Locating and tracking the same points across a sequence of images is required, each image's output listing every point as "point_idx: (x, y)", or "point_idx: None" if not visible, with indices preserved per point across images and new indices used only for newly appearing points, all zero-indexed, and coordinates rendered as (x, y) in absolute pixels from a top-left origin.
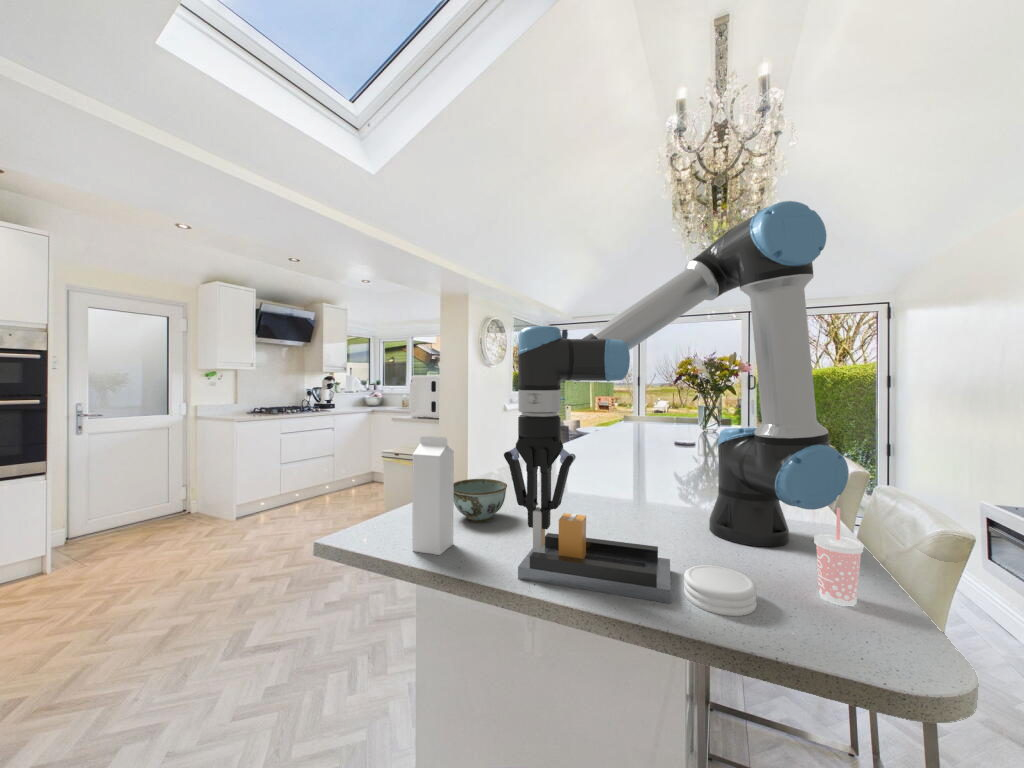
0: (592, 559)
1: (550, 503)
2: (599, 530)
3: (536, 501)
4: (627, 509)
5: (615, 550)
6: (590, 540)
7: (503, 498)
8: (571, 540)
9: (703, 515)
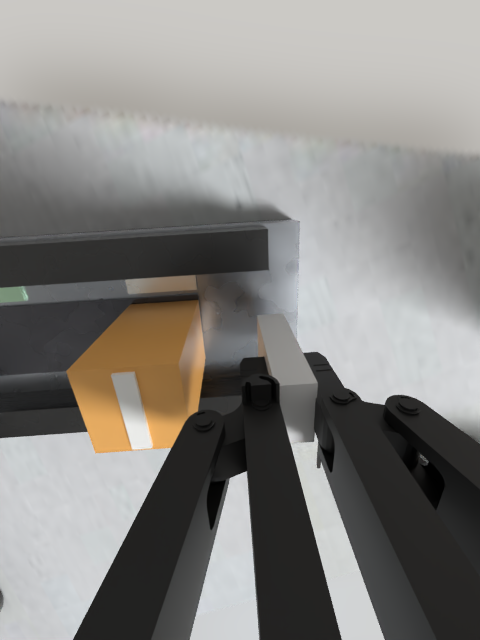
0: None
1: (232, 438)
2: None
3: (324, 456)
4: None
5: (68, 398)
6: None
7: None
8: (142, 328)
9: (37, 631)
